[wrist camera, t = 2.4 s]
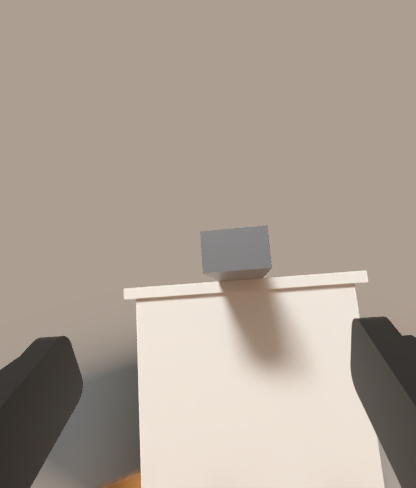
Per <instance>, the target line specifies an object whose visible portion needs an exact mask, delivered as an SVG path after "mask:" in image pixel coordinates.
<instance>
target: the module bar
mask: <svg viewBox="0 0 416 488" xmlns="http://www.w3.org/2000/svg"><path fill="white" fill-rule="evenodd" d="M200 234H201V248H202V265H203V273H204V274H205V275H207V276H209V277H211V278H213V279H215V280H217V281H218V282H220V281H233V280H246V279H260V278H263V277H264V276H265V275H266V274H267V273H268V272H269V270H270V269H271V268H272V264H271V255H270V245H269V235H268V226H257V227H246V228H235V229H224V230H213V231H203V232H200Z"/></svg>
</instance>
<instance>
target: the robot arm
mask: <svg viewBox="0 0 416 488" xmlns="http://www.w3.org/2000/svg"><path fill="white" fill-rule="evenodd" d="M350 369H351V376H352V381H353V384H354V387H355V390H356V392H357V395H358V397H359V399H360V401H361V403H362V405H363V407H364V409H365V411H366V414H367V416H368V418H369V420H370V422H371V424H372V426H373V428H374V430H375V433H376V435H377V437H378V439H379V441H380V443H381V445H382V447H383V450H384V452H385V454H386V456H387V458H388V460H389V462H390V464H391V466H392V469H393V471H394V473H395V475H396V477H397V479H398V481H399V483H400V485H401V488H416V338H415V337H414V336H412V335H406V336H402V335H401V334H400V333H399V332H398V330H397V329H396V328H395V327H394V325H393V324H392V323H391V322H390V321H389V320H388V318H386V317H369V318H354V319H353V321H352V328H351V360H350ZM82 388H83V381H82V377H81V373H80V370H79V367H78V364H77V361H76V357H75V355H74V351H73V348H72V345H71V342H70V341H69V339H68V338H67V337H65V336H59V337H44V338H38V339H36V340H35V341H34V342H33V343H32V344H31V345H30V346H29V347H28V348H27V349H26V350H25V352H24V353H23V354H22V355H21V356H20V357H18V358H17V359H15V360H14V361H13V362H11V363H10V364H8V365H7V366H5V367H4V368H2V369H1V370H0V488H30V487H31V485H32V483H33V481H34V480H35V478H36V476H37V474H38V473H39V471H40V469H41V467H42V466H43V464H44V462H45V460H46V458H47V457H48V455H49V453H50V451H51V450H52V448H53V446H54V444H55V443H56V441H57V439H58V437H59V436H60V434H61V432H62V430H63V428H64V426H65V425H66V423H67V421H68V420H69V418H70V416H71V414H72V413H73V411H74V409H75V407H76V405H77V404H78V402H79V400H80V397H81V394H82Z"/></svg>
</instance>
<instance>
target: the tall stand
mask: <svg viewBox="0 0 416 488" xmlns="http://www.w3.org/2000/svg"><path fill="white" fill-rule="evenodd" d="M364 282H368V277H367V271H353V272H340V273H327V274H313V275H300V276H287V277H273V278H260V279H246V280H233V281H220V282H206V283H195V284H180V285H167V286H153V287H141V288H126V289H124V299H136V312H137V313H136V315H137V349H138V387H139V419H140V420H139V422H140V458H141V488H385V486H384V480H383V473H382V466H381V459H380V453H379V446H378V439H377V435H376V433H375V430H374V428H373V426H372V424H371V422H370V420H369V418H368V416H367V414H366V411H365V409H364V407H363V405H362V403H361V401H360V399H359V397H358V395H357V392H356V390H355V387H354V384H353V381H352V376H351V369H350V360H351V328H352V321H353V319H354V318H359V311H358V304H357V298H356V291H355V284H356V283H364Z"/></svg>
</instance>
